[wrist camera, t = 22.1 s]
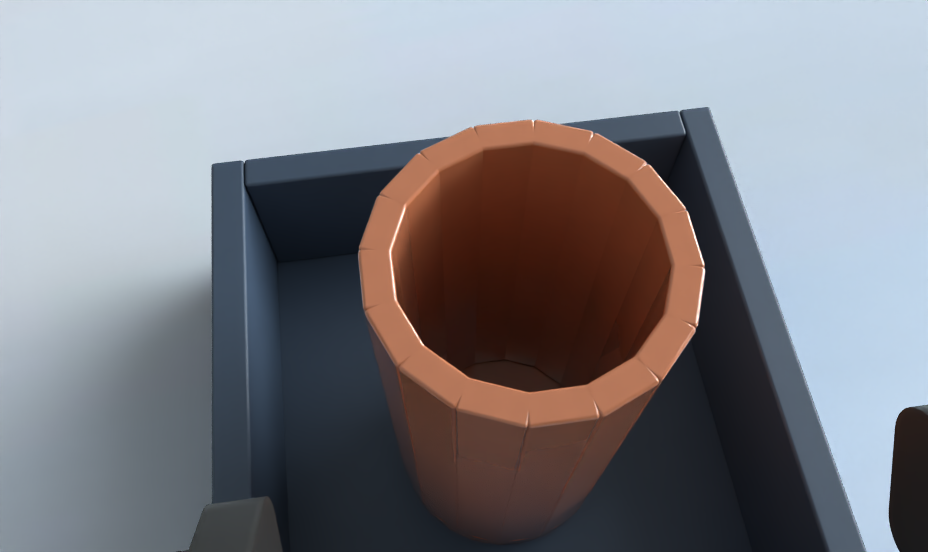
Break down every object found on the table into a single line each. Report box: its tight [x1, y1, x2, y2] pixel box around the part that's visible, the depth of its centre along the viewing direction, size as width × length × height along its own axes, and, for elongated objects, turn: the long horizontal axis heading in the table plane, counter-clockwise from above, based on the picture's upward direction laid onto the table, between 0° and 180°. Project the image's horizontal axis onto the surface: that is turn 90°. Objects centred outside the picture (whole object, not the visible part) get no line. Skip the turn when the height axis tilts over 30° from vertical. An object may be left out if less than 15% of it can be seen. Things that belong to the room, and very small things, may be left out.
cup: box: [358, 120, 705, 545], centre depth 16 cm, size 5×5×10 cm
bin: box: [212, 107, 866, 552], centre depth 19 cm, size 13×14×5 cm
